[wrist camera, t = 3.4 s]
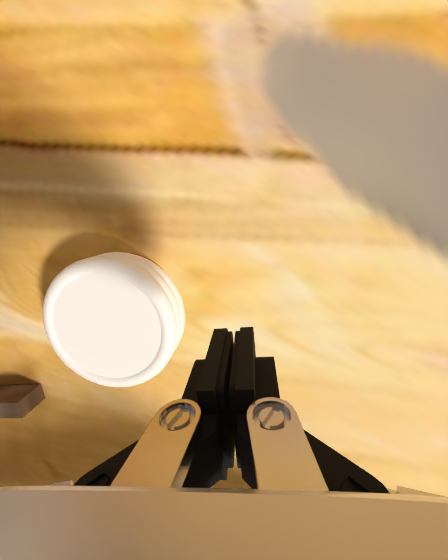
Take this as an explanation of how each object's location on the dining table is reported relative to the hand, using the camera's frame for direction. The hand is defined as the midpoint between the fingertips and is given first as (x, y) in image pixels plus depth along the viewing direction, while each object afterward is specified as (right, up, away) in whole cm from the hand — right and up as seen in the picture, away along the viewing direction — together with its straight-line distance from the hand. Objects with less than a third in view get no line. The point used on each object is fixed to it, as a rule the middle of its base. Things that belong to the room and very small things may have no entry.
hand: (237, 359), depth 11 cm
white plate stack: (-8, +1, +11) cm, 14 cm away
